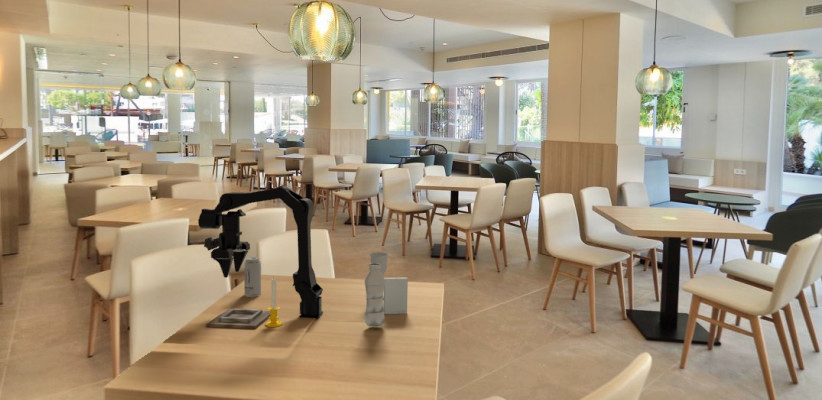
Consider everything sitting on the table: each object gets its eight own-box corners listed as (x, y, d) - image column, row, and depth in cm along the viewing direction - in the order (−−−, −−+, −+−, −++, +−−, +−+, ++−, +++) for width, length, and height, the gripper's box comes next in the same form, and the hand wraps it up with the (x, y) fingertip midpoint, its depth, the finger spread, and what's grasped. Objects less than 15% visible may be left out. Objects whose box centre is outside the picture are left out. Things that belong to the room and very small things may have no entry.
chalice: (391, 301, 204) (392, 253, 202) (381, 305, 198) (381, 256, 196) (375, 298, 207) (376, 251, 206) (365, 302, 202) (365, 254, 200)
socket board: (273, 314, 185) (273, 307, 185) (255, 328, 169) (255, 322, 169) (227, 312, 186) (227, 306, 186) (206, 326, 170) (206, 319, 170)
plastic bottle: (388, 324, 176) (388, 263, 174) (378, 330, 169) (378, 267, 168) (370, 321, 178) (371, 261, 177) (360, 327, 172) (360, 265, 171)
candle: (281, 326, 171) (281, 278, 170) (264, 327, 170) (264, 278, 169) (282, 321, 176) (282, 274, 175) (266, 322, 176) (266, 275, 174)
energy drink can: (241, 297, 205) (240, 258, 204) (254, 294, 210) (253, 256, 209) (251, 300, 202) (251, 260, 201) (264, 297, 207) (264, 258, 205)
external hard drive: (407, 313, 188) (407, 278, 187) (383, 314, 187) (384, 278, 186) (406, 312, 189) (407, 277, 188) (383, 313, 188) (383, 277, 187)
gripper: (220, 225, 195) (220, 268, 196) (195, 232, 176) (195, 279, 177) (250, 226, 194) (250, 269, 195) (228, 233, 175) (228, 280, 176)
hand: (231, 274), depth 186 cm, fingers open, 9 cm apart
